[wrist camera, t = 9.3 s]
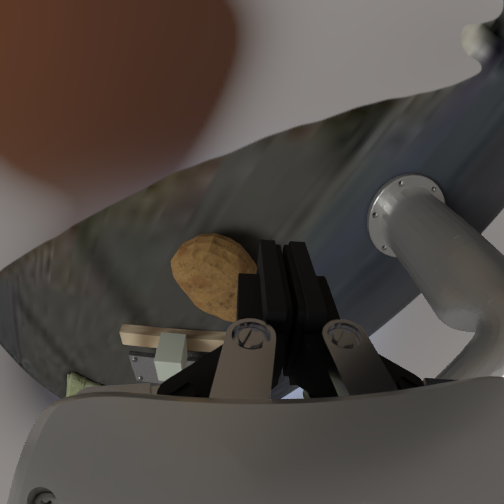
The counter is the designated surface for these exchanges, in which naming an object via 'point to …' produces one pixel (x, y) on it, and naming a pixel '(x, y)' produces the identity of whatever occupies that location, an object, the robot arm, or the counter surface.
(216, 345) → the rail
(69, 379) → the washcloth
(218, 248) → the potato
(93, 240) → the counter surface
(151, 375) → the bolt plate
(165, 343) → the block
